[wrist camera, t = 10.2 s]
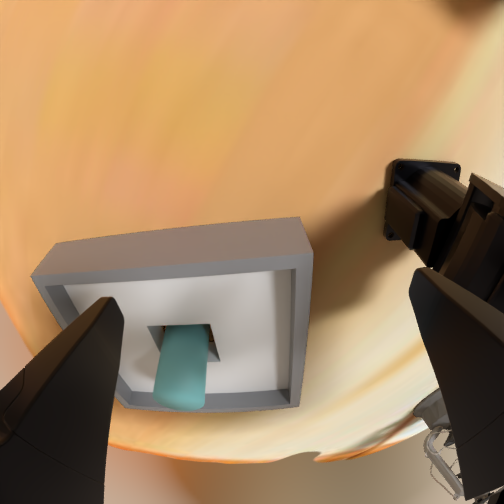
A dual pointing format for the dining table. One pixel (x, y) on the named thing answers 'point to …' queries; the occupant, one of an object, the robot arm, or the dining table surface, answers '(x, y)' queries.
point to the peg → (182, 367)
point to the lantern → (437, 420)
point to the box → (197, 304)
